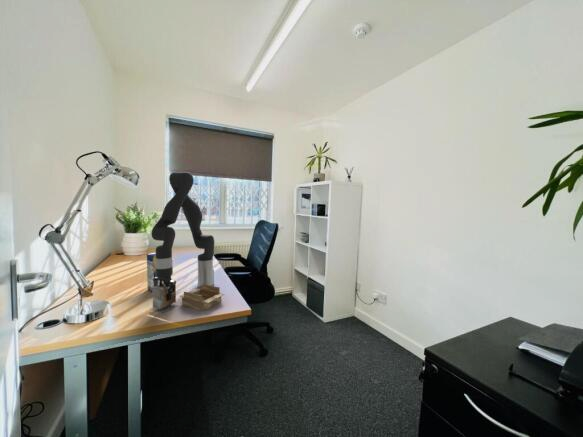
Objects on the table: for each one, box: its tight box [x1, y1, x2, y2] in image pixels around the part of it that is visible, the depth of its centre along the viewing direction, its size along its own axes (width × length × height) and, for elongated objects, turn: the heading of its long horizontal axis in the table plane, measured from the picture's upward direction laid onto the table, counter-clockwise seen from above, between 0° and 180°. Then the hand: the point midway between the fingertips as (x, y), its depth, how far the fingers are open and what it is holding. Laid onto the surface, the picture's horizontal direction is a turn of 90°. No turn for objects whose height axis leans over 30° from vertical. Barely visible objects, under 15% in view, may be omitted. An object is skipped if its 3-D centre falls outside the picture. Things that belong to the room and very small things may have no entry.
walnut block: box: [152, 285, 177, 309], centre depth 115 cm, size 9×5×10 cm, turn 157°
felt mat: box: [150, 303, 179, 314], centre depth 116 cm, size 9×9×1 cm
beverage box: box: [146, 252, 158, 292], centre depth 143 cm, size 7×11×22 cm, turn 151°
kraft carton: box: [179, 284, 225, 312], centre depth 121 cm, size 13×19×8 cm
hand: (164, 299), depth 115 cm, fingers closed on walnut block, 5 cm apart
